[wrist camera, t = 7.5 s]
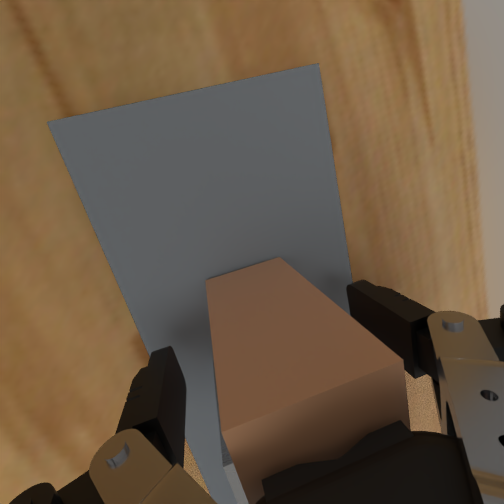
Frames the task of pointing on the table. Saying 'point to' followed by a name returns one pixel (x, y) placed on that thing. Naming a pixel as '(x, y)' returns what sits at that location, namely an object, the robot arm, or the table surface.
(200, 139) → the slate mat
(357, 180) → the table surface
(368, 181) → the table surface
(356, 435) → the tan block with rod
